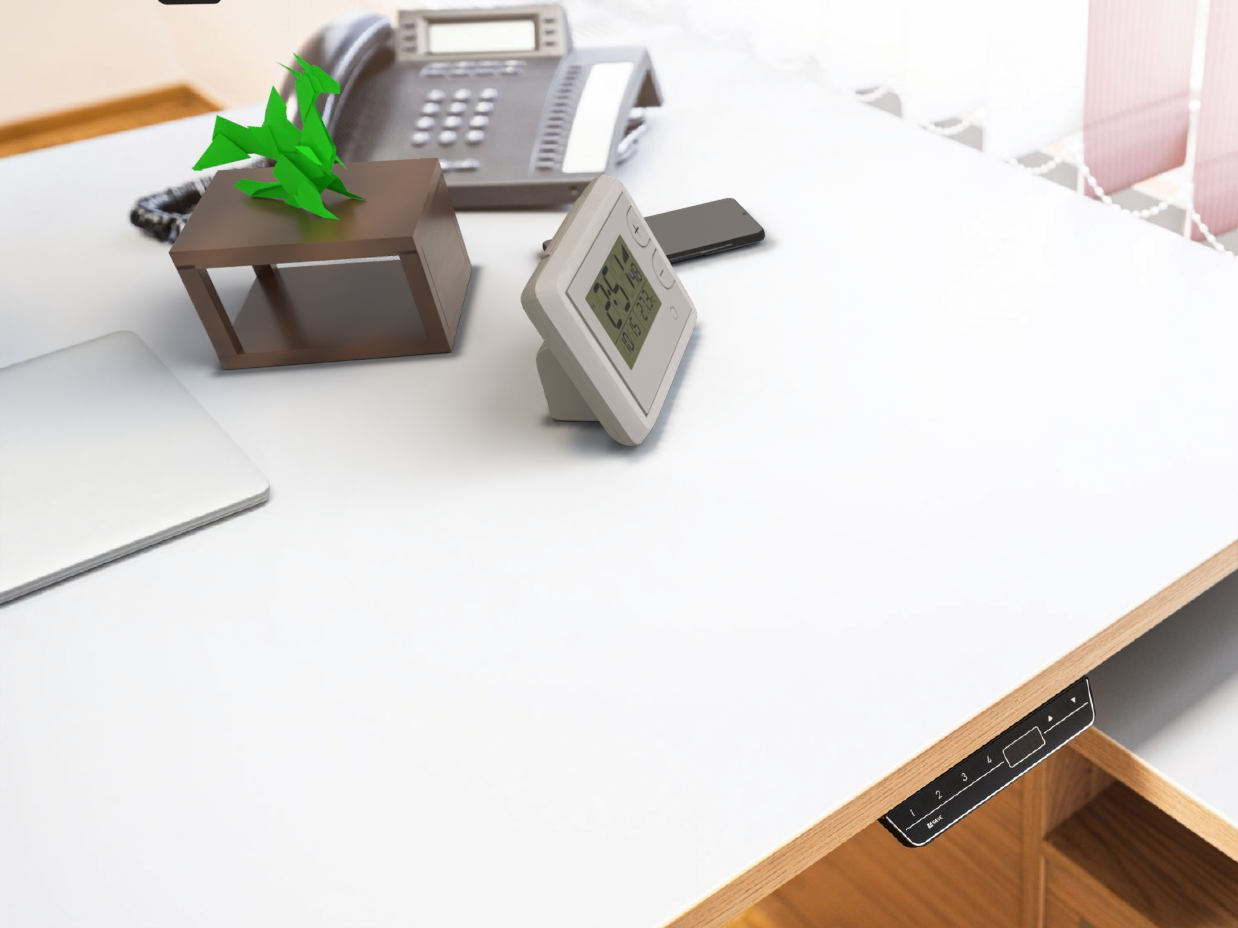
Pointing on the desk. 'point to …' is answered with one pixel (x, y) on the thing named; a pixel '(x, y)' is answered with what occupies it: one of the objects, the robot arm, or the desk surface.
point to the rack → (330, 267)
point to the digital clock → (608, 315)
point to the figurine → (285, 146)
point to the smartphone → (702, 229)
